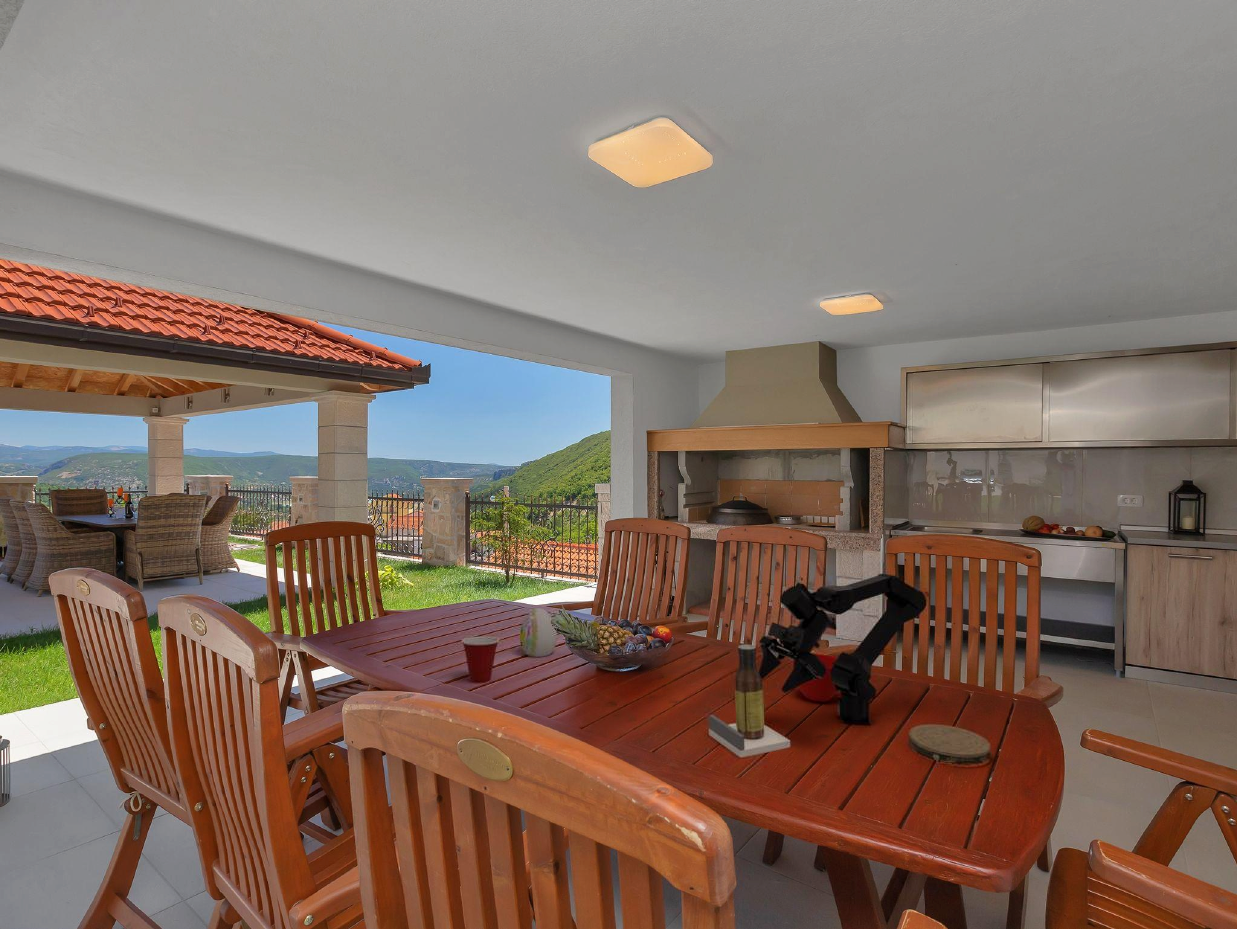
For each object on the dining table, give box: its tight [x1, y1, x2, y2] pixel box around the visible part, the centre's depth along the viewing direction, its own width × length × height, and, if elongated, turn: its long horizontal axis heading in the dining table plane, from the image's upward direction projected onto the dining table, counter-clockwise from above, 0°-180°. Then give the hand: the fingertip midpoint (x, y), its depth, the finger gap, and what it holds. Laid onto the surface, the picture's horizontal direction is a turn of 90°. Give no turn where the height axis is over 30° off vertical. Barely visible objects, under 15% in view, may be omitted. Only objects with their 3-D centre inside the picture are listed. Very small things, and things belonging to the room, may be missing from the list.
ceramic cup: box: [792, 653, 838, 703], centre depth 175 cm, size 13×17×10 cm
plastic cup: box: [461, 636, 500, 684], centre depth 190 cm, size 11×11×12 cm
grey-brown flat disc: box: [908, 723, 991, 765], centre depth 142 cm, size 16×16×3 cm
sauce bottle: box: [734, 644, 765, 739], centre depth 148 cm, size 6×6×20 cm
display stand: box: [708, 714, 791, 758], centre depth 148 cm, size 13×13×4 cm
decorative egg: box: [519, 607, 558, 658], centre depth 216 cm, size 12×12×15 cm
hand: (770, 684), depth 150 cm, fingers open, 9 cm apart
